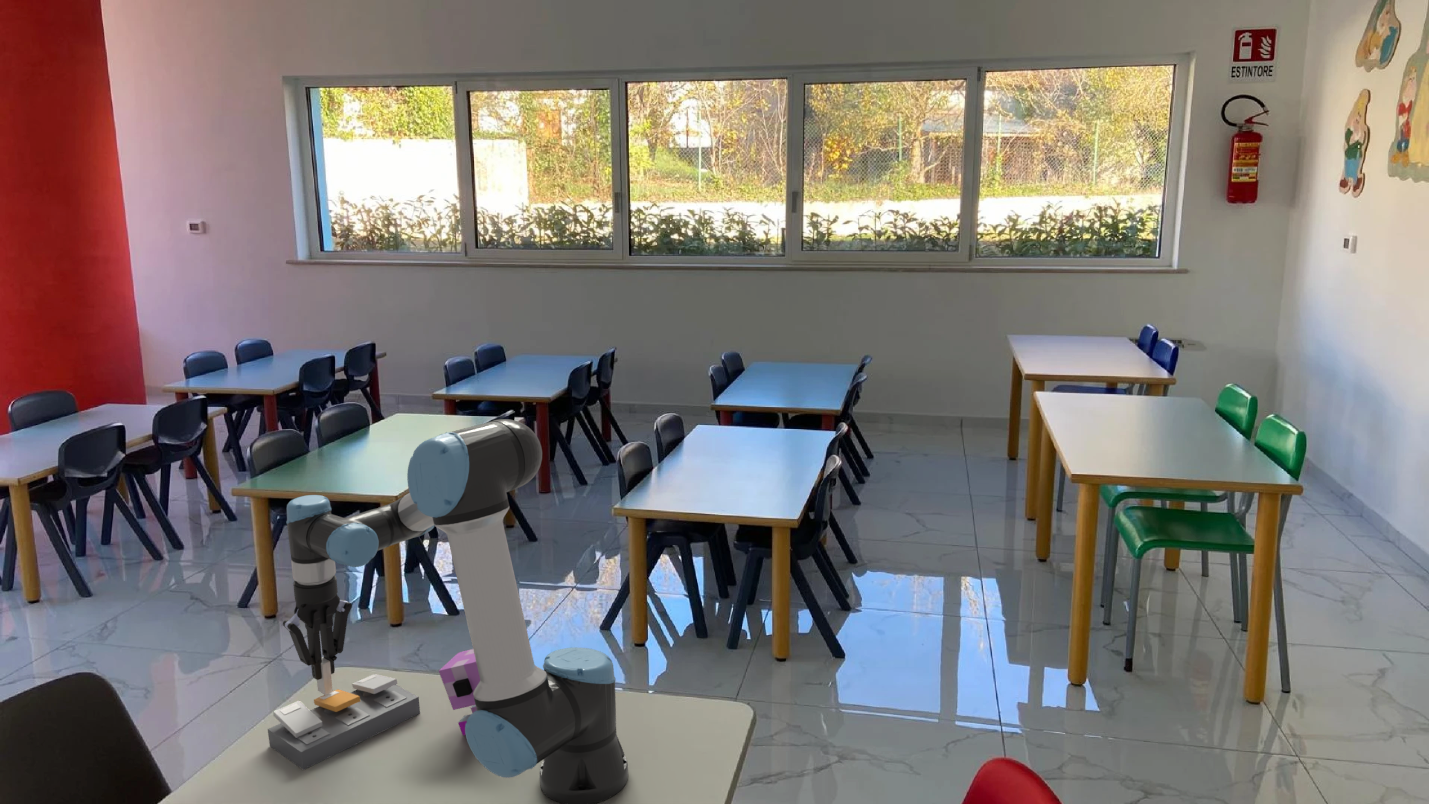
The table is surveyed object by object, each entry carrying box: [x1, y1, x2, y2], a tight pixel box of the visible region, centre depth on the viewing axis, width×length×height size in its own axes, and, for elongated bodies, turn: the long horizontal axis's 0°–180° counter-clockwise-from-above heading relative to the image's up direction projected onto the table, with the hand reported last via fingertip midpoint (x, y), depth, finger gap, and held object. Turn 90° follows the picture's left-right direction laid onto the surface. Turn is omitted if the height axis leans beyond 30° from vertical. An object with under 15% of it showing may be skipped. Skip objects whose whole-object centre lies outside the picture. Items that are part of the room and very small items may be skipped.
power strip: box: [267, 684, 421, 771], centre depth 185 cm, size 12×24×4 cm, turn 141°
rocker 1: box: [273, 699, 322, 738], centre depth 180 cm, size 8×5×1 cm, turn 51°
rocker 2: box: [313, 688, 360, 712], centre depth 186 cm, size 8×5×1 cm, turn 50°
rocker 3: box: [351, 673, 398, 694], centre depth 192 cm, size 8×5×1 cm, turn 50°
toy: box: [438, 648, 480, 736], centre depth 185 cm, size 11×8×15 cm
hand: (325, 691), depth 189 cm, fingers closed
